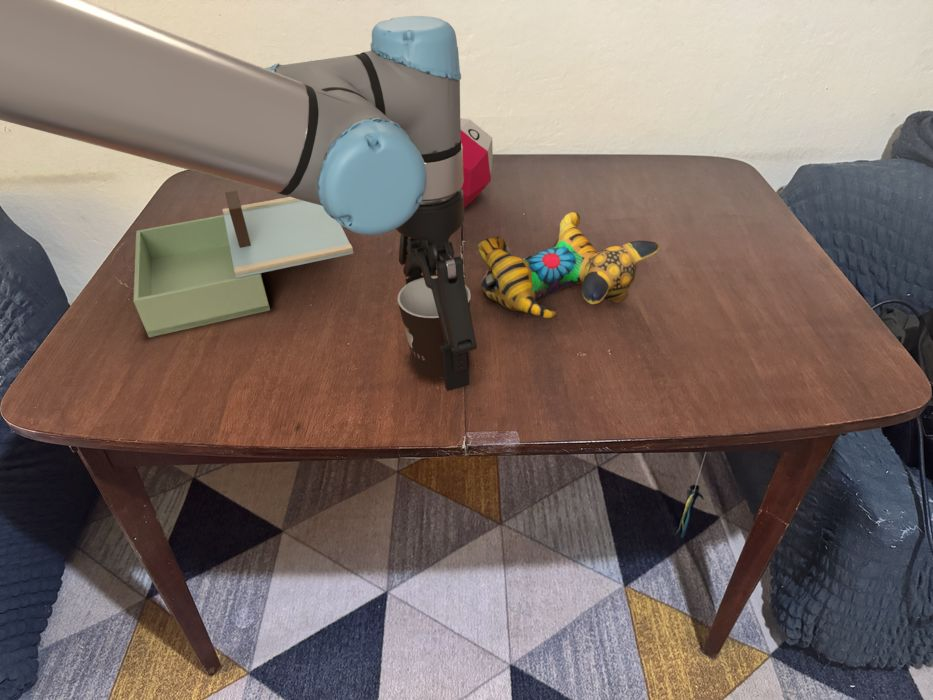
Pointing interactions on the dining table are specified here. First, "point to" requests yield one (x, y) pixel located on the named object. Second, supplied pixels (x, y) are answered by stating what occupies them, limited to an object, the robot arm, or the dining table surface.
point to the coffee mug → (423, 327)
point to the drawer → (280, 234)
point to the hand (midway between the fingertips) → (437, 351)
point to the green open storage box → (191, 278)
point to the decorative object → (475, 159)
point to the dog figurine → (560, 270)
